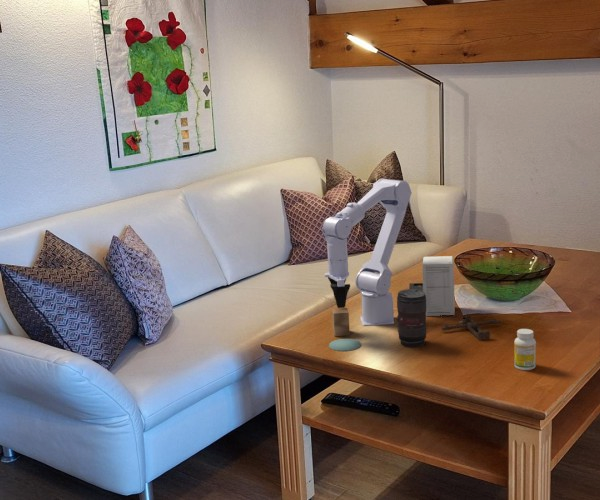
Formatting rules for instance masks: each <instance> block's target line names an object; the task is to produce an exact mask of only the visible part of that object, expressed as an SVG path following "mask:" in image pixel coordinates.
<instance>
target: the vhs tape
mask: <svg viewBox="0 0 600 500" xmlns="http://www.w3.org/2000/svg"><path fill="white" fill-rule="evenodd" d="M408 289H417V290H421V291H423V282H417V283H416V282H415V283H414V282H413V283H409V287H408Z"/></svg>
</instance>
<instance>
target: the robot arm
mask: <svg viewBox="0 0 600 500" xmlns="http://www.w3.org/2000/svg"><path fill="white" fill-rule="evenodd" d="M411 196H412V190H411V186H410V184H409V183H408V181H406V180H399V179H398V180H397V179H389V178H388V179H387V178H384V177H383V178H379V179H378V180H377V181H376V182H373V185H372V188H371V189H370V190H369V191H368V192H367V193H366V194H365V195H364V196H363V197H362V198H361V199H359V200H358V201H357V202H348V203H347V204H346V207H344V208H343V209H342V210H341V211H339V212H337V213H335V214H336V215H334V216H330V217H328V218H326V219H325V220H324V221H323V224H322V227H321V232H322V234H323V235H324V237H325V240H324V241H326V248H327V265H328V266H327V267H328V268H327V269H328V271H327V272H325V273H324V278H328V281H329V283H330V285H329V286H330V288H331V290H332V293H333V297H334V300H335V303H336V307H337V309H339V308H346V304H347V296H348V294H349V290H350V288H351V284H350V283H346V281H347V279H348V277H349V276H350V272H349V260H348V258H349V257H348V256H349V255H348V241H347V240H348V238H349V236H350V234H351V232H352V230H353V229H354V226H356V225H357V224H358V223H360V222H361V221H362V220H363V219H364V218H365V215H366V212H368V210H370V209H371V208H373V207H374V206H375V205H377V204H378V203H380V205H381V206H382V207H383V208H384V209H385V211H386V213H385V217H384V219H383V223H382V225H381V228H380V232H379V234H378V237H377V240H376V243H375V246H374V248H373V251H372V254H371V258H370V260H368V261H367V262H364V263H363V264H362V266H361V268H360V270H359V271H358V273H357V274H356V276H355V282H354V283H355V286H356V288H357V289H358V290H359V294H360V295H361V313H362V315H360V317H359V319H360V322H361V324H362V326H363V327H367V326H368V327H369V326H383V325H384V326H385V325H394V324H395V320H394V319H395V318H394V316H395V315H394V297H393V294H392V292H389V290H390V289H391V285H392V284H391V280H392V277H393V273H392V271H391V269H390V268H389V266H388V265H389V262H390V260H391V256H392V253H393V250H394V247H395V245H396V242H397V239H398V236H399V233H400V230H401V227H402V225H403V222H404V218H405V216H406V213H407V208H408V205H409V202H410V199H411Z"/></svg>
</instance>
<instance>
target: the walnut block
mask: <svg viewBox="0 0 600 500" xmlns="http://www.w3.org/2000/svg"><path fill="white" fill-rule="evenodd" d="M331 310H332V312H331V313H332V328H333V329H332V330H333V334H334V337H344V336H350V335H351V333H350V315H349V314H350V312H349V309H348V307H345V308H332V309H331Z"/></svg>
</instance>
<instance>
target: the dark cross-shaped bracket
mask: <svg viewBox="0 0 600 500" xmlns="http://www.w3.org/2000/svg"><path fill="white" fill-rule="evenodd" d="M500 322H501V321H500V320H499V319H496V318H494V319H492V320H488V321H480V322H479V321H477V322H476V321H474V320H473V319H472V316H471V315H469V313H468V314H466V316H464V317H462V320H459V321H458V322H457V323H458V324H459V325H458V324H457V325H447V324H444V326H441V330H442V331H447V330H448V331H449V330H454V329H465V328H466V329H467V330H468V331H469V332H470V333H472V334H473V335H474V337H476V338H477V340H479V341H484V340H485V341H486V340H490V336H491V330H487V329H486V330H482V329H481V328H480V327H482V326H486V325H487V326H488V325H496V324H499V323H500Z"/></svg>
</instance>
